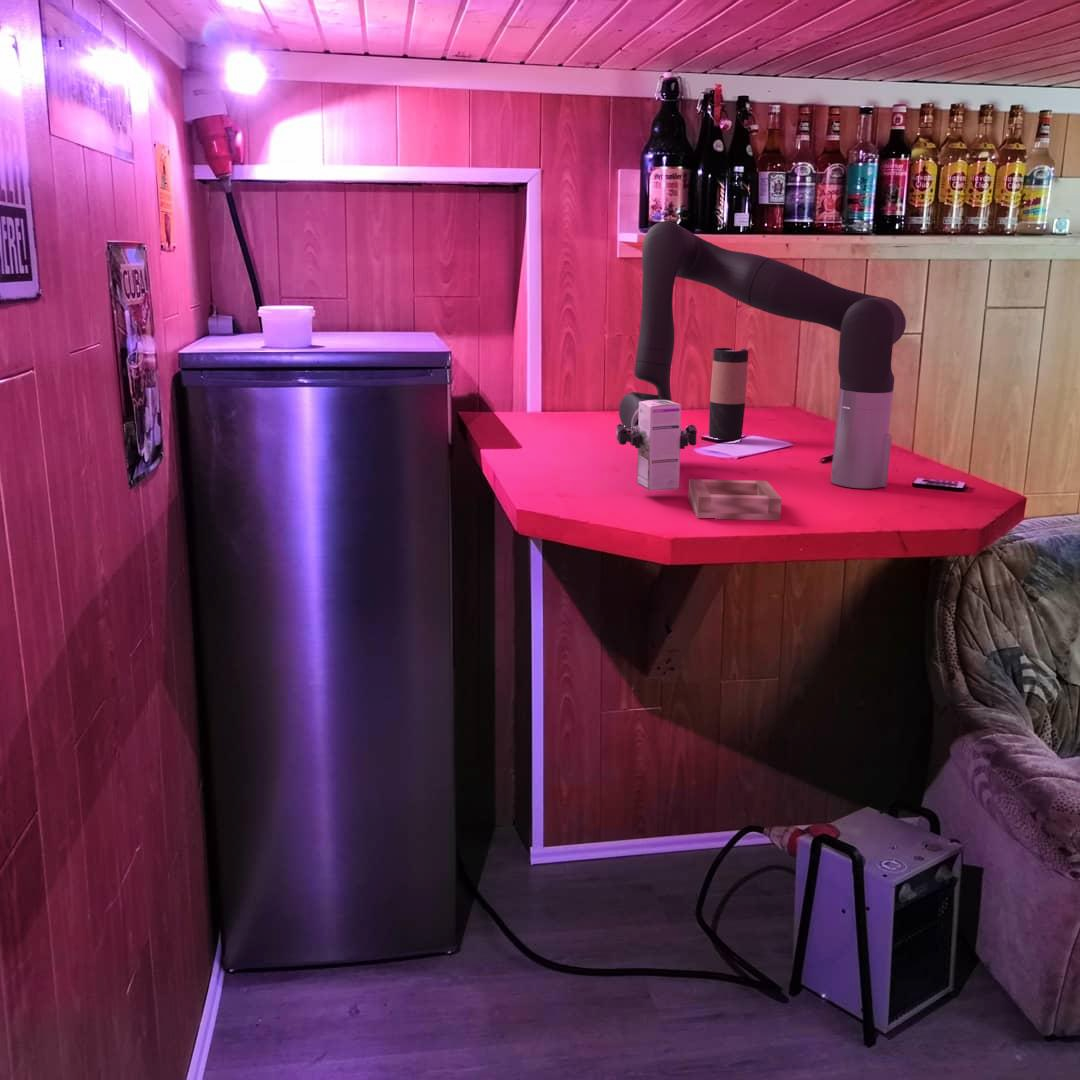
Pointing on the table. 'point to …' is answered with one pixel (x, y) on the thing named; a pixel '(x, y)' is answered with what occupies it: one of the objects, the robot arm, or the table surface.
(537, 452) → the table surface
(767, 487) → the holder
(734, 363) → the travel mug
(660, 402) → the syrup box
